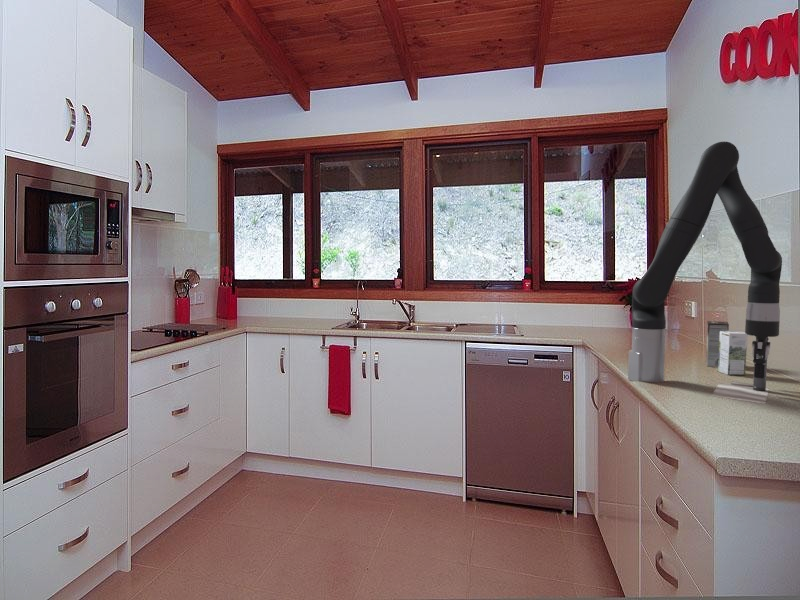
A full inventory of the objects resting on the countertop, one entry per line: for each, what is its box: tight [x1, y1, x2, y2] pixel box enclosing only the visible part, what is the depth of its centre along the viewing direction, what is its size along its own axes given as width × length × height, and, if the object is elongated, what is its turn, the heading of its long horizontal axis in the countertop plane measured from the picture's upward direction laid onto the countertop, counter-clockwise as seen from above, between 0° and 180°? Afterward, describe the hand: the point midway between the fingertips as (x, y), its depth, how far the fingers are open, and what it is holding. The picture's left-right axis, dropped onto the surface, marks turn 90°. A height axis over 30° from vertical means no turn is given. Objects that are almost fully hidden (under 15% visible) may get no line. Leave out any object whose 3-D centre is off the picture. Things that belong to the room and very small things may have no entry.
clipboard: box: [711, 381, 770, 404], centre depth 127 cm, size 22×14×2 cm, turn 139°
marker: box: [752, 358, 768, 391], centre depth 129 cm, size 3×3×12 cm
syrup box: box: [717, 330, 749, 376], centre depth 154 cm, size 6×6×14 cm
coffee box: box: [705, 320, 730, 368], centre depth 168 cm, size 9×6×16 cm
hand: (759, 375), depth 129 cm, fingers open, 8 cm apart
